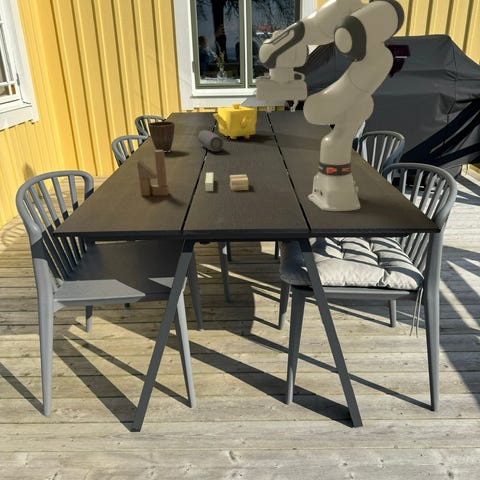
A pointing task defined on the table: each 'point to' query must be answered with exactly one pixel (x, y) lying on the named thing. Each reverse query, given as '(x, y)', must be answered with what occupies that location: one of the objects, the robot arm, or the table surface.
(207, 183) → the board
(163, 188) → the wooden block
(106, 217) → the table surface
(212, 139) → the bluetooth speaker
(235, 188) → the oak block
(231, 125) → the cube teapot
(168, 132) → the plant pot
